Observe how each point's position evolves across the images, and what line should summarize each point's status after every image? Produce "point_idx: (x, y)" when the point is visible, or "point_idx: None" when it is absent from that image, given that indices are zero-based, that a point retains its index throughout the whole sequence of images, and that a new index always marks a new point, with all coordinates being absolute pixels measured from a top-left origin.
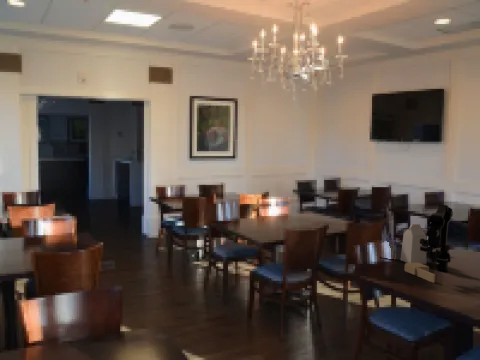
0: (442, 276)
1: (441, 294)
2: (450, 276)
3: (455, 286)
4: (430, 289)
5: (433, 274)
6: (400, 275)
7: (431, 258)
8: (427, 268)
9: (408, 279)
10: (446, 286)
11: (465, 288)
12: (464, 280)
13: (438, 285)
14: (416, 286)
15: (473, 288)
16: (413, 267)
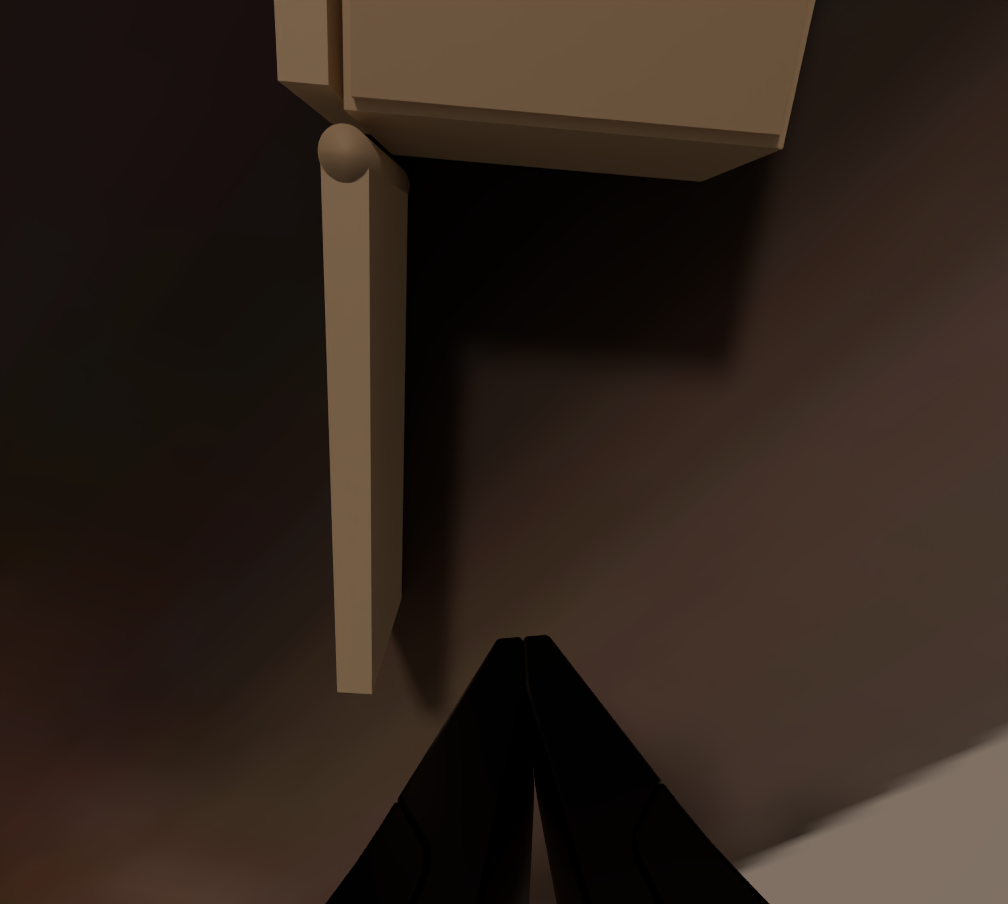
0: (864, 357)
1: (160, 899)
2: (1005, 401)
3: None
4: (139, 766)
5: (337, 684)
6: (38, 12)
7: (444, 727)
8: (708, 153)
9: (68, 320)
10: None
11: None
12: (973, 627)
13: None
14: (9, 638)
15: None
16: (279, 14)
